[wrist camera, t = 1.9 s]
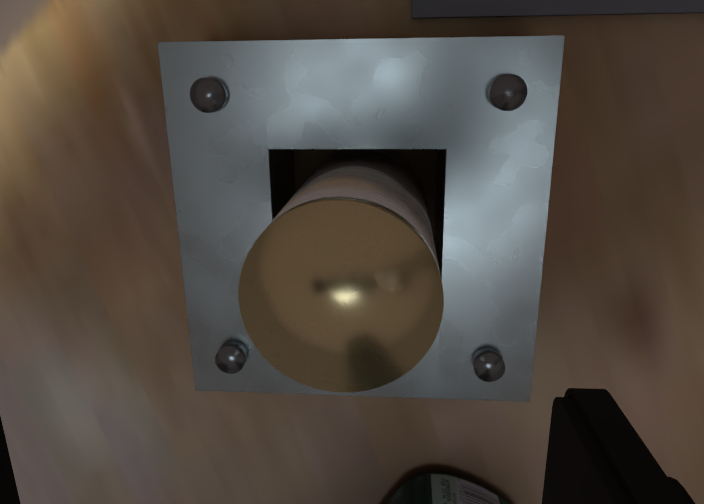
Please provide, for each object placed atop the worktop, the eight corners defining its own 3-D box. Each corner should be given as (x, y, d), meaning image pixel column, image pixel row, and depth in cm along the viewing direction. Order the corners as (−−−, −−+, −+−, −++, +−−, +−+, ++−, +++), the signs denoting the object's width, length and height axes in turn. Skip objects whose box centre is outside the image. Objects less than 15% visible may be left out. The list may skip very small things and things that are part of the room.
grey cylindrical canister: (427, 144, 25) (447, 202, 14) (424, 262, 27) (440, 395, 16) (303, 144, 26) (230, 200, 15) (307, 261, 28) (245, 389, 17)
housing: (532, 42, 24) (569, 34, 18) (507, 345, 28) (532, 409, 23) (203, 47, 25) (150, 41, 20) (228, 337, 29) (190, 398, 24)
